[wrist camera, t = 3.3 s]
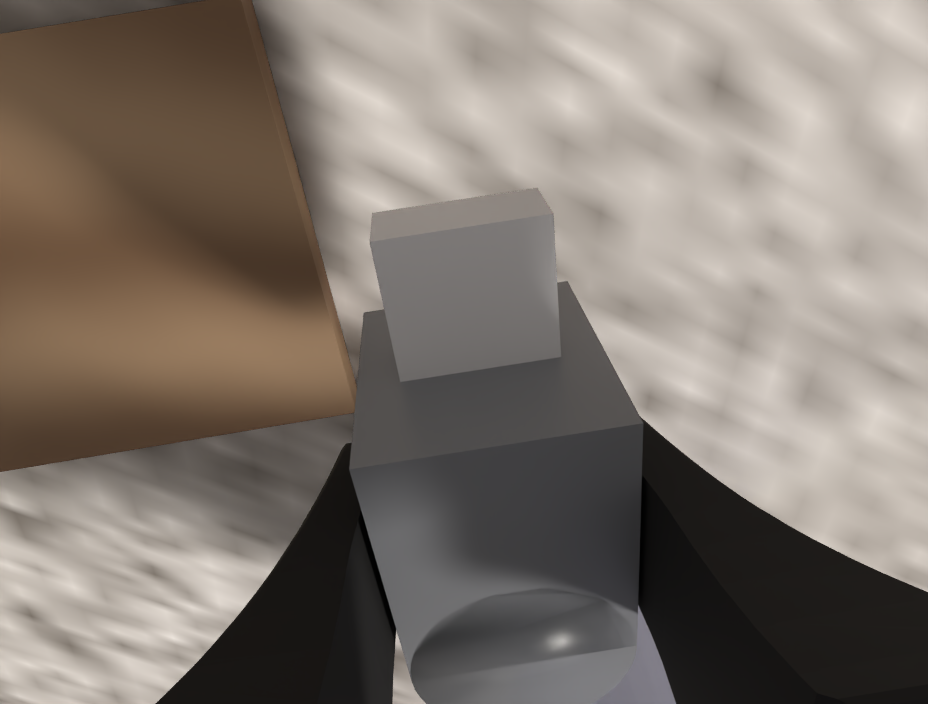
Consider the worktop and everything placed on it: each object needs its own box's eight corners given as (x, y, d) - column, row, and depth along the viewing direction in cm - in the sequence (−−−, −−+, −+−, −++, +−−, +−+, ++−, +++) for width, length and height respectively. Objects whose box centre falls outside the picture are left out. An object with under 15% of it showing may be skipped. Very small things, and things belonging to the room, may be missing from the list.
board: (358, 392, 22) (356, 412, 21) (10, 449, 22) (-9, 473, 21) (250, -7, 16) (239, -6, 15) (-234, 72, 16) (-279, 79, 15)
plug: (578, 530, 16) (635, 708, 12) (421, 555, 16) (429, 741, 12) (561, 157, 11) (648, 259, 7) (335, 192, 11) (303, 313, 7)
